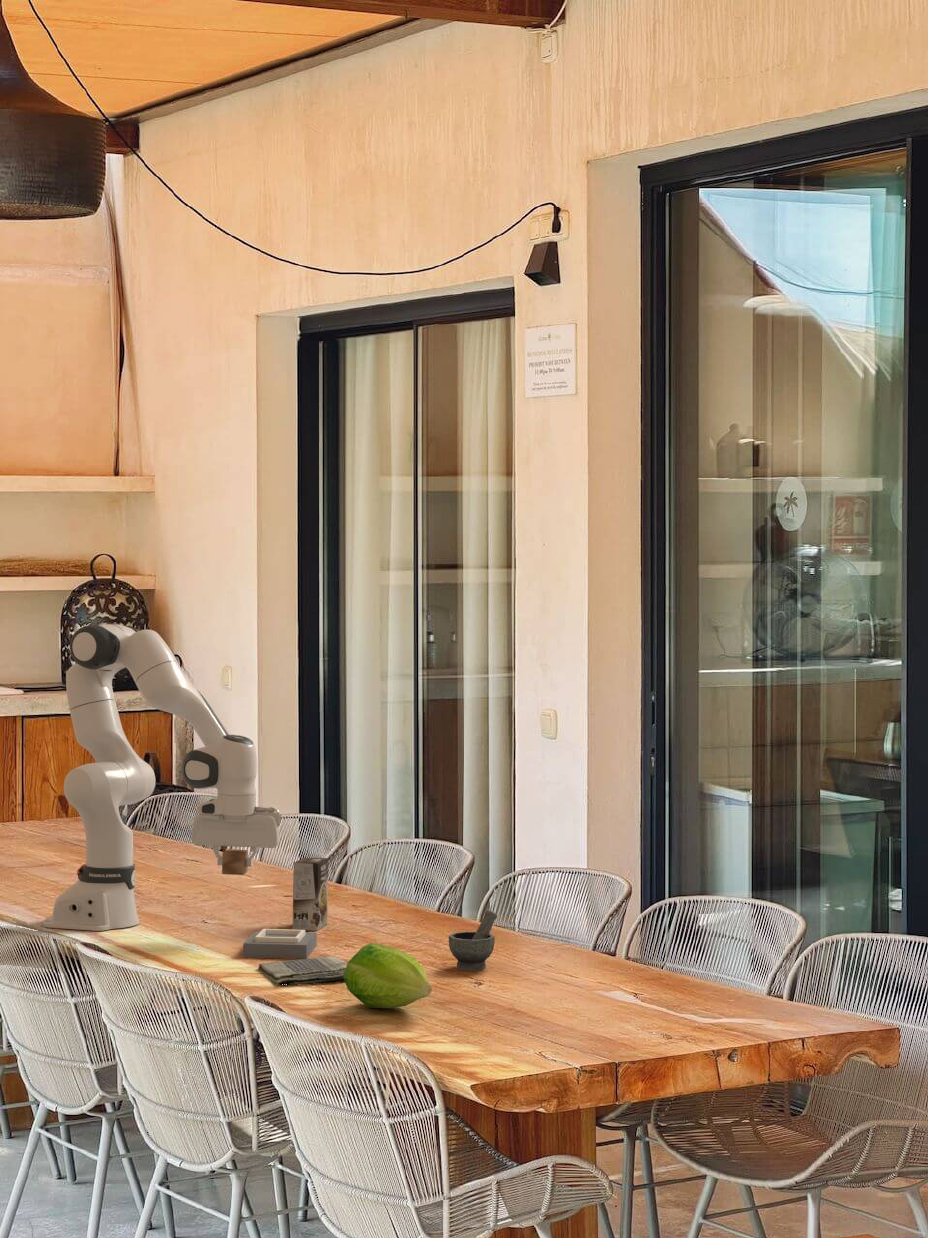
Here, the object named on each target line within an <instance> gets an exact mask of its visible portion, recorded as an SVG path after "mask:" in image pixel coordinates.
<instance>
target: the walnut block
mask: <svg viewBox="0 0 928 1238" xmlns="http://www.w3.org/2000/svg"><path fill="white" fill-rule="evenodd" d="M221 856H222V865H221V875H233V876H234V875H236V876H244V875H245V874H246V873H248V871H249V867H247V866H245V863H246V862H245V859H246V858H249V850H248V849H233V848H232V849H230V848H226V849H225V850H224V851H222V854H221Z"/></svg>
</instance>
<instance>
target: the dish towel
mask: <svg viewBox="0 0 928 1238" xmlns="http://www.w3.org/2000/svg"><path fill="white" fill-rule="evenodd" d="M347 963H348V962H347V961H344V960H342V959H340V958H338V957H335V956H320V957H319V956H318V957H314V958H313V957H312V958H307V959H291V960H289V959H288V960H283V961H274V962H272V961H270V962H266V963H265V962H264V963H263V962H262V963H259V964H258V968H257V969H258V970H259V971H260V972H261V973H262V974H263V975H264V976H265V977H266V978H267V979H268V980H269V979H270V980H271V982H272V983H273V984H274V985H276V986H277V987H279V986H280V985H282V984H283V985H284V984H287V986H288V985H290V986H299V985H298V984H310V985H314V984H313V983H315V984H317V983H318V984H320V983H321V985H323V984H324V983H325V984H337V982H340V983H342V982H341V981H343V982H345V980H344V974H345V970H346V967H347ZM270 980H269V981H270ZM280 987H281V986H280Z"/></svg>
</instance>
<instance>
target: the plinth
mask: <svg viewBox="0 0 928 1238" xmlns="http://www.w3.org/2000/svg"><path fill="white" fill-rule="evenodd" d="M317 934H318V933H317V932H307V931H306V930H294V929H285V928H283V929H279V928H262V929H261V931H260V930H259V931H257V930H255V931H254V932H253V933H252V934H251V935H250V936H249V937H248V938H247V939H246V940H245V941H244V942H243V943H242V946H243V947H242V957H243V958H261V959H262V958H265V959H266V958H267V959H272V958H273V959H296V960H301V959H308V958H309V956H310V955H311V954H312V952H313V951H314V950H315V948H317V943H318V941H317Z"/></svg>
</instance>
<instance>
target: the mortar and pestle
mask: <svg viewBox="0 0 928 1238" xmlns="http://www.w3.org/2000/svg"><path fill="white" fill-rule="evenodd" d="M497 918H498V914H497V913H495V912H494V911H492V910H488V909H487V910H484V917H483V919H482V920H481V922H480V924H479V925H478V927H477V929H476V931H461V932H460V931H459V932H453V933H451V934H449V935H448V946H449V950H450V952H451V954H452V956H453V957H454V958H455V959H456V960H457V963H456V969H458V970H459V971H466V972H478V971H483V970H485V969H487V964H486V961H487V959H489V958H490V956H491V955H492V953H493V951H494V948H495V943H496V942H495V940H496V939H495V935H493V934H492V933H491V932H492V931H491V930H492V927H493V925H494V922H495V920H496V919H497Z"/></svg>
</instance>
